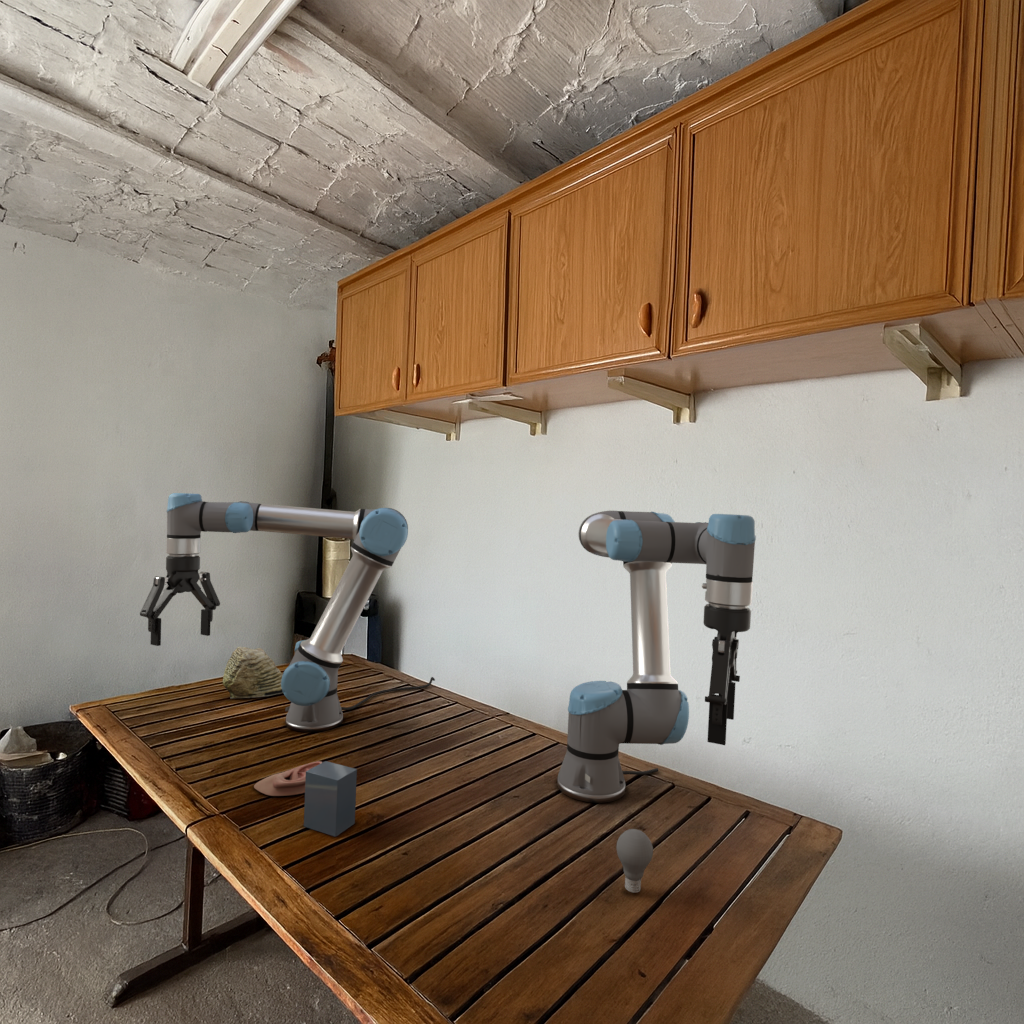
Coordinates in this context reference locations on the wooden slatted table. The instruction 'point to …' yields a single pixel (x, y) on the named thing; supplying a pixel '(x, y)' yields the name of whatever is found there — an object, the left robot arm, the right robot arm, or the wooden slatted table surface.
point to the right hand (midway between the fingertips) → (721, 729)
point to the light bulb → (634, 857)
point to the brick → (330, 798)
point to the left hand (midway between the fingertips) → (181, 639)
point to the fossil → (251, 674)
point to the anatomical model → (286, 781)
